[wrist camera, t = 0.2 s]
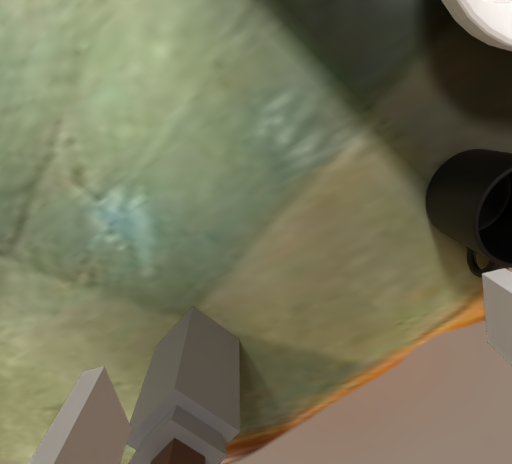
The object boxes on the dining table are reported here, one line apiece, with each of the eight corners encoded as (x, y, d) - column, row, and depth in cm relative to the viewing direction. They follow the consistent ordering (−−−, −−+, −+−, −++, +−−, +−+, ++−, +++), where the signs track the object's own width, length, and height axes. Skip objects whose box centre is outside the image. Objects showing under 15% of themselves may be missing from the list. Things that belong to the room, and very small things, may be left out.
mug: (410, 255, 43) (454, 291, 34) (436, 144, 39) (492, 153, 31) (492, 262, 43) (555, 299, 35) (524, 153, 40) (603, 164, 31)
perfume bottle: (192, 305, 43) (163, 433, 26) (239, 339, 45) (240, 481, 28) (156, 346, 45) (105, 493, 27) (202, 378, 46) (181, 536, 29)
